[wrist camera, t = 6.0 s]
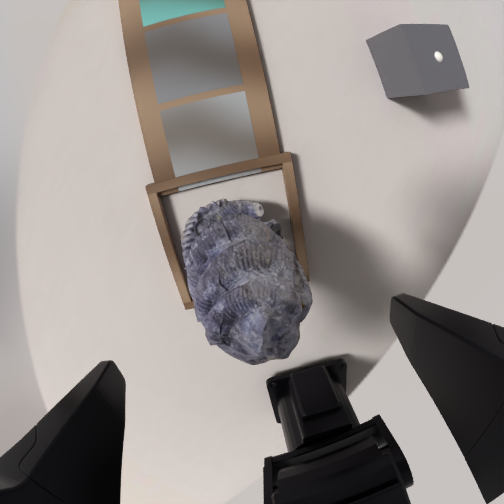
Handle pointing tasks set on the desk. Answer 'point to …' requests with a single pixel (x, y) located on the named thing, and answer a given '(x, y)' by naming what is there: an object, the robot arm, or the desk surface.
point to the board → (197, 86)
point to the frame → (217, 172)
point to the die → (417, 60)
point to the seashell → (244, 281)
